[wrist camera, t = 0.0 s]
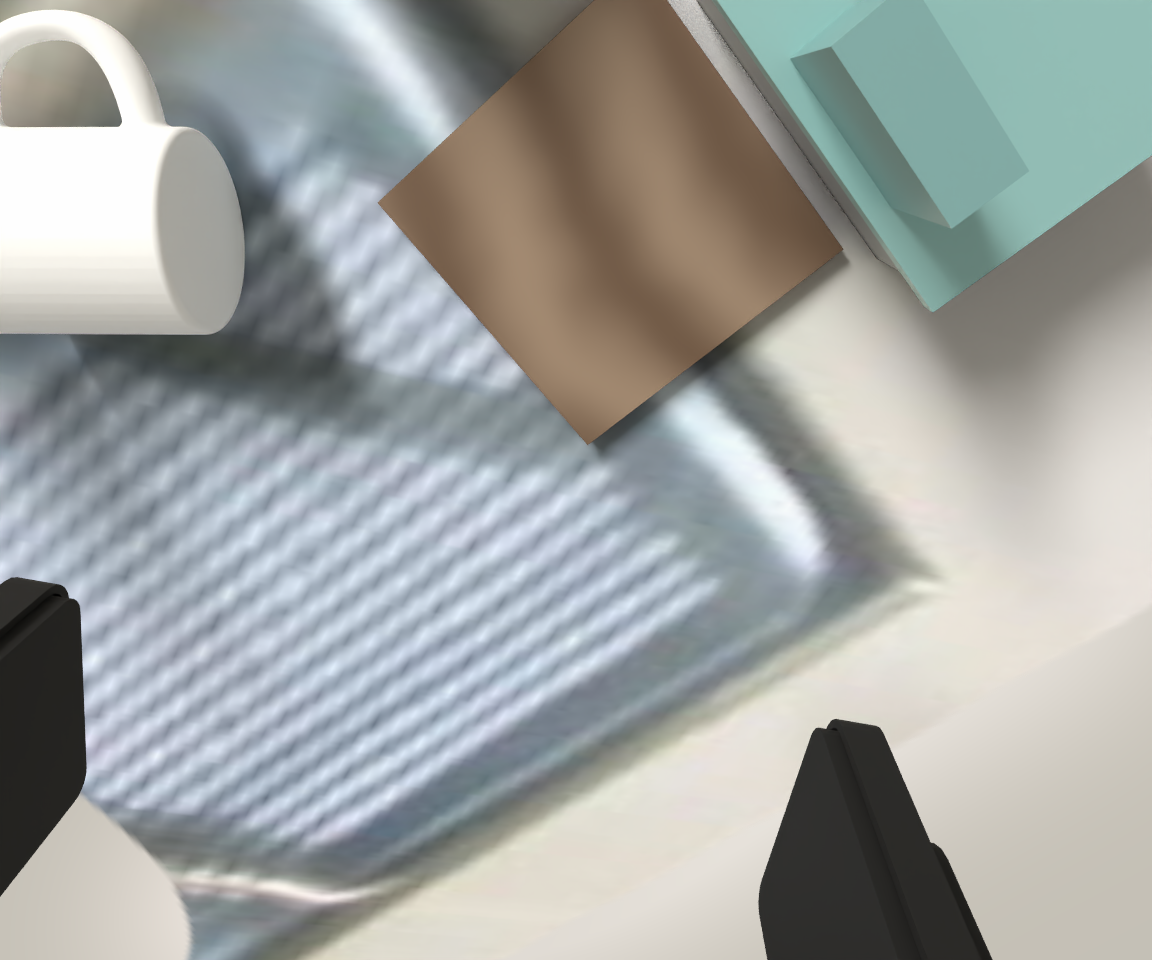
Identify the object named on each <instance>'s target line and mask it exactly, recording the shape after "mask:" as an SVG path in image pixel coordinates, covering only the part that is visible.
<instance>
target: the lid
mask: <svg viewBox="0 0 1152 960" xmlns="http://www.w3.org/2000/svg"><path fill="white" fill-rule="evenodd" d="M712 2H713V3H714V5H715V6H716V7H717V9H718V10H719V12H720V13H721V15H722V16H723V18H724V19H725V20H726V22H727V23H728V25H729V26H730V28H731V29H732V31H733V32H734V33H735V35H736V36H737V38H738V39H739V41H740V42H741V44H742V45H743V46H744V48H745V49H746V51H747V52H748V54H749V55H750V57H751V58H752V59H753V61H754V62H755V64H756V65H757V67H758V68H759V70H760V71H761V72H762V74H763V75H764V77H765V78H766V80H767V81H768V83H769V84H770V85H771V87H772V88H773V90H774V91H775V93H776V94H777V96H778V97H779V98H780V100H781V101H782V103H783V104H784V106H785V107H786V108H787V110H788V111H789V113H790V114H791V116H792V117H793V119H794V120H795V121H796V123H797V124H798V126H799V127H800V129H801V130H802V132H803V133H804V134H805V136H806V137H807V139H808V140H809V142H810V143H811V145H812V146H813V147H814V149H815V150H816V152H817V153H818V155H819V156H820V158H821V159H822V160H823V162H824V163H825V165H826V166H827V168H828V169H829V171H830V172H831V173H832V175H833V176H834V178H835V179H836V181H837V182H838V184H839V185H840V186H841V188H842V189H843V191H844V192H845V194H846V195H847V197H848V198H849V199H850V201H851V202H852V204H853V205H854V207H855V208H856V210H857V211H858V212H859V214H860V215H861V217H862V218H863V220H864V221H865V223H866V224H867V225H868V227H869V228H870V230H871V231H872V233H873V234H874V236H875V237H876V238H877V240H878V241H879V243H880V244H881V246H882V247H883V249H884V250H885V251H886V253H887V254H888V256H889V257H890V259H891V260H892V262H893V263H894V264H895V266H896V267H897V269H898V270H899V272H900V273H901V275H902V276H903V277H904V279H905V280H906V282H907V283H908V285H909V286H910V288H911V289H912V290H913V292H914V293H915V295H916V296H917V298H918V299H919V301H920V302H921V303H922V305H923V306H924V307H925V308H926V309H928V310H929V311H931V312H935V311H936V310H937V309H939V308H940V307H942V306H943V305H944V304H946V303H947V302H949V301H950V300H951V299H953V298H954V297H956V296H957V295H958V294H960V293H961V292H962V291H964V290H965V289H967V288H968V287H969V286H971V285H972V284H974V283H975V282H976V281H978V280H979V279H981V278H982V277H983V276H985V275H986V274H987V273H989V272H990V271H992V270H993V269H994V268H996V267H997V266H999V265H1000V264H1001V263H1003V262H1004V261H1006V260H1007V259H1008V258H1010V257H1011V256H1012V255H1014V254H1015V253H1017V252H1018V251H1019V250H1021V249H1022V248H1024V247H1025V246H1026V245H1028V244H1029V243H1031V242H1032V241H1033V240H1035V239H1036V238H1037V237H1039V236H1040V235H1042V234H1043V233H1044V232H1046V231H1047V230H1049V229H1050V228H1051V227H1053V226H1054V225H1056V224H1057V223H1058V222H1060V221H1061V220H1063V219H1064V218H1065V217H1067V216H1068V215H1069V214H1071V213H1072V212H1074V211H1075V210H1076V209H1078V208H1079V207H1081V206H1082V205H1083V204H1085V203H1086V202H1088V201H1089V200H1090V199H1092V198H1093V197H1094V196H1096V195H1097V194H1099V193H1100V192H1101V191H1103V190H1104V189H1106V188H1107V187H1108V186H1110V185H1111V184H1113V183H1114V182H1115V181H1117V180H1118V179H1119V178H1121V177H1122V176H1124V175H1125V174H1126V173H1128V172H1129V171H1131V170H1132V169H1133V168H1135V167H1136V166H1138V165H1139V164H1140V163H1142V162H1143V161H1144V160H1146V159H1147V158H1149V157H1150V156H1151V155H1152V0H712Z"/></svg>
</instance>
